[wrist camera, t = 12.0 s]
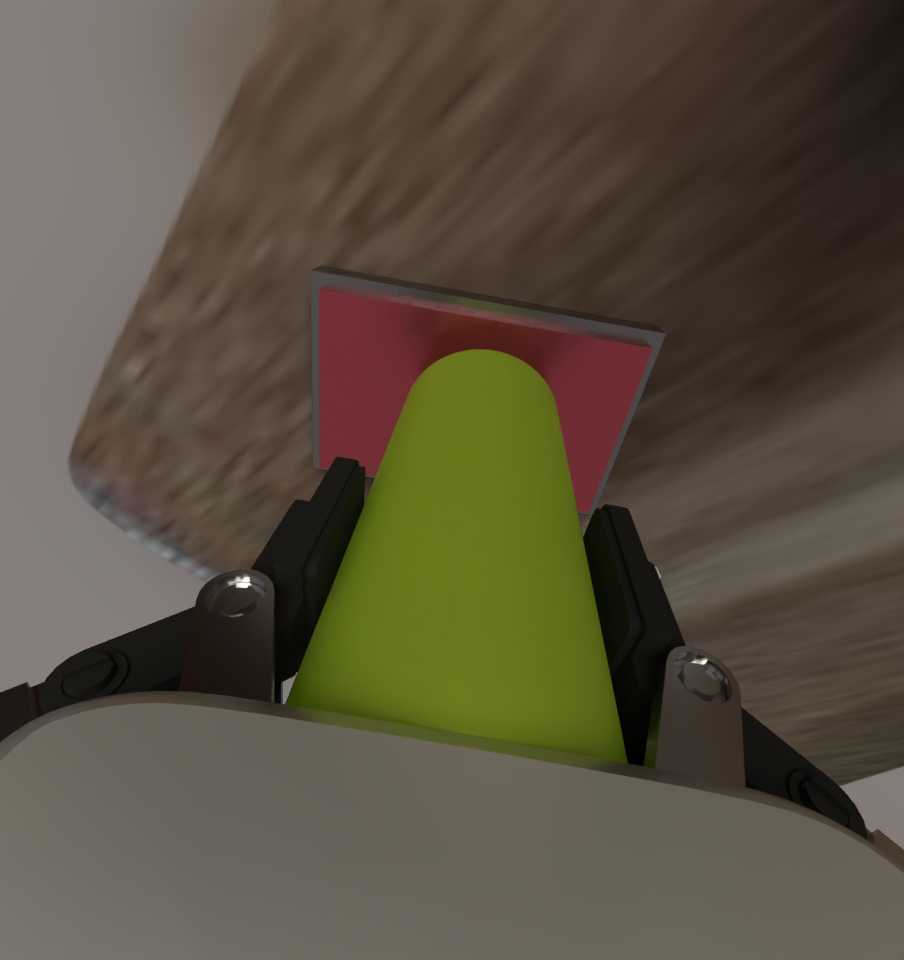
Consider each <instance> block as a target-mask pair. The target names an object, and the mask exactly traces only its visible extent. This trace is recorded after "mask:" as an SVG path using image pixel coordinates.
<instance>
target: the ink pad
mask: <svg viewBox="0 0 904 960" xmlns="http://www.w3.org/2000/svg"><path fill="white" fill-rule="evenodd" d="M311 327H312V412H313V468H318V469H324V470H329V468H330V466H331V464H332V463H333V461H334V459H335V458H336V457H337V456H338V457H344V458H349V459H355V460H358V461H359V466H363V467H365V469H366V473H365V477H371V478H375V477H376V474H377V472H378V469H379V467H380V464H381V462H382V459H383V457H384V454H385V452H386V449H387V447H388V444H389V441H390V439H391V436H392V434H393V431H394V429H395V426H396V424H397V421H398V419H399V416H400V414H401V411H402V409H403V406H404V404H405V401H406V399H407V396H408V394H409V391H410V389H411V387H412V386H413V384H414V383H415V381H416V380H417V378H418V377H419V376H420V375H421V374H422V373H423V372H424V371H425V370H426V369H427V368H428V367H429V366H430V365H432V364H433V363H435V362H436V361H438V360H440V359H442V358H444V357H446V356H448V355H451V354H454V353H457V352H461V351H466V350H476V349H484V350H493V351H499V352H503V353H506V354H509V355H512V356H514V357H516V358H518V359H520V360H522V361H524V362H525V363H527V364H528V365H530V366H531V367H532V368H533V369H534V370H536V371H537V372H538V373H539V374H540V375H541V377H542V378H543V379H544V380H545V382H546V383H547V385H548V386H549V388H550V390H551V392H552V394H553V396H554V399H555V402H556V406H557V411H558V416H559V421H560V426H561V431H562V436H563V441H564V446H565V451H566V456H567V461H568V466H569V471H570V476H571V481H572V486H573V491H574V496H575V501H576V506H577V511H578V513H583V514H588V515H593V513H594V511H595V509H596V507H597V505H598V502H599V500H600V497H601V495H602V492H603V490H604V487H605V485H606V482H607V480H608V477H609V475H610V472H611V470H612V467H613V465H614V462H615V460H616V457H617V455H618V452H619V450H620V447H621V445H622V442H623V440H624V438H625V435H626V433H627V430H628V428H629V425H630V423H631V420H632V418H633V415H634V413H635V410H636V408H637V405H638V403H639V400H640V398H641V395H642V393H643V390H644V388H645V385H646V383H647V380H648V378H649V375H650V373H651V370H652V368H653V365H654V363H655V360H656V358H657V355H658V353H659V351H660V348H661V346H662V343H663V341H664V338H665V336H666V333H665V332H664V331H662V330H661V329H660V328H659V327H658V326H654V325H648V324H643V323H637V322H632V321H626V320H620V319H615V318H609V317H604V316H598V315H593V314H587V313H581V312H576V311H570V310H565V309H559V308H553V307H548V306H542V305H537V304H531V303H525V302H520V301H514V300H509V299H503V298H498V297H492V296H486V295H481V294H475V293H470V292H464V291H458V290H453V289H447V288H442V287H436V286H430V285H425V284H419V283H414V282H408V281H403V280H397V279H391V278H386V277H380V276H375V275H369V274H363V273H358V272H352V271H347V270H341V269H335V268H330V267H324V266H319V267H317V268H315V269H313V270H311Z"/></svg>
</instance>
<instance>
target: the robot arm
mask: <svg viewBox="0 0 904 960" xmlns="http://www.w3.org/2000/svg"><path fill="white" fill-rule="evenodd" d="M365 473H366V469H365V467H363V466H359V461H358V460H355V459H349V458H344V457H338V456H337V457H336V458H335V459H334V461H333V463H332V464H331V466H330V468H329V470H328V471H327V473H326V475H325V476H324V478H323V480H322V481H321V483H320V485H319V487H318V488H317V490H316V492H315V493H314V495H313V497H312V499H311V500H310V502H309V501H304V500H295V501H294V503H293V504H292V505H291V507H290V508H289V510H288V511H287V513H286V515H285V516H284V518H283V519H282V521H281V522H280V524H279V526H278V527H277V529H276V530H275V532H274V533H273V535H272V537H271V538H270V540H269V541H268V543H267V544H266V546H265V548H264V549H263V551H262V552H261V554H260V555H259V557H258V559H257V560H256V562H255V563H254V565H253V566H252V568H251V569H237V570H232V571H227V572H224V573H222V574H220V575H217V576H215V577H214V578H212V579H211V580H210V581H208V582H207V583H206V584H205V585H204V586H203V587H202V588H201V590H200V591H199V594H198V596H197V599H196V604H195V607H192V608H190V609H187V610H185V611H182V612H180V613H177V614H175V615H172V616H169V617H167V618H164V619H162V620H159V621H157V622H154V623H152V624H149V625H147V626H144V627H141V628H139V629H136V630H134V631H131V632H129V633H126V634H124V635H121V636H119V637H116V638H114V639H111V640H108V641H106V642H103V643H101V644H98V645H96V646H93V647H91V648H88V649H85V650H83V651H81V652H79V653H77V654H75V655H73V656H71V657H69V658H68V659H67V660H65V661H64V662H63V663H61V664H60V665H59V666H57V667H56V668H55V669H54V671H53V672H52V673H51V674H50V675H49V676H48V677H47V678H46V680H45V682H43V683H40V684H37V685H35V686H32V687H30V685H29V684H28V682H26V683H23V684H21V685H18V686H16V687H13V688H10V689H8V690H5V691H3V692H0V960H904V850H903V849H902V848H901V847H899V846H898V845H897V844H896V843H894V842H893V841H892V840H891V839H890V838H888V837H887V836H886V835H885V834H883V833H882V832H881V831H879V830H878V829H877V830H875V831H874V832H872V833H871V832H870V831H869V830H868V829H867V828H866V827H865V823H864V820H863V818H862V816H861V814H860V813H859V811H858V809H857V807H856V806H855V804H854V803H853V802H852V801H851V799H850V798H849V797H848V795H847V794H846V793H845V792H844V791H843V790H842V789H841V788H840V787H839V786H838V785H837V784H836V783H835V782H834V781H833V780H831V779H830V778H829V777H828V776H826V775H825V774H824V773H823V772H821V771H820V770H819V769H818V768H816V767H815V766H814V765H813V764H812V763H810V762H809V761H808V760H807V759H805V758H804V757H803V756H802V755H800V754H799V753H798V752H797V751H795V750H794V749H793V748H792V747H790V746H789V745H788V744H787V743H785V742H784V741H783V740H782V739H780V738H779V737H778V736H777V735H775V734H774V733H773V732H772V731H770V730H769V729H768V728H767V727H765V726H764V725H763V724H762V723H760V722H759V721H758V720H757V719H755V718H754V717H753V716H752V715H751V714H749V713H748V712H747V711H746V710H744V709H743V708H742V707H741V694H740V689H739V685H738V683H737V681H736V679H735V678H734V676H733V674H732V673H731V672H730V671H729V670H728V668H727V667H726V666H725V665H724V664H723V663H721V662H720V661H719V660H718V659H717V658H715V657H714V656H712V655H710V654H709V653H707V652H705V651H703V650H700V649H697V648H694V647H687V646H686V645H685V643H684V640H683V638H682V635H681V632H680V630H679V627H678V625H677V622H676V620H675V617H674V614H673V612H672V609H671V607H670V604H669V601H668V599H667V596H666V594H665V591H664V589H663V586H662V583H661V581H660V578H659V576H658V573H657V570H656V568H655V566H654V565H653V564H652V563H651V562H648V560H647V557H646V554H645V552H644V549H643V546H642V544H641V541H640V538H639V536H638V533H637V530H636V528H635V525H634V522H633V520H632V517H631V514H630V512H629V510H628V509H627V508H624V507H619V506H613V505H608V504H606V505H604V506H603V507H602V509H599V508H597V509H595V511H594V513H593V515H592V518H591V520H590V522H589V525H588V527H587V530H586V532H585V534H584V537H583V541H584V546H585V551H586V556H587V561H588V566H589V571H590V576H591V581H592V586H593V591H594V596H595V601H596V606H597V611H598V616H599V621H600V626H601V631H602V636H603V641H604V646H605V651H606V656H607V661H608V666H609V671H610V676H611V681H612V686H613V691H614V696H615V701H616V706H617V711H618V716H619V721H620V726H621V731H622V736H623V741H624V746H625V751H626V756H627V761H628V763H622V762H617V761H611V760H605V759H600V758H594V757H589V756H583V755H577V754H572V753H566V752H561V751H555V750H549V749H544V748H538V747H532V746H527V745H521V744H515V743H509V742H504V741H498V740H492V739H486V738H481V737H475V736H469V735H463V734H458V733H452V732H446V731H440V730H434V729H429V728H423V727H417V726H411V725H405V724H399V723H393V722H387V721H382V720H376V719H370V718H364V717H358V716H352V715H346V714H340V713H334V712H328V711H322V710H316V709H310V708H304V707H298V706H292V705H285V704H283V681H285V680H287V679H289V678H291V677H293V676H295V674H296V672H298V671H299V668H300V665H301V663H302V660H303V658H304V655H305V653H306V650H307V648H308V645H309V643H310V640H311V638H312V635H313V633H314V630H315V628H316V625H317V623H318V620H319V618H320V615H321V613H322V610H323V608H324V605H325V603H326V600H327V598H328V595H329V593H330V590H331V587H332V585H333V582H334V580H335V577H336V575H337V572H338V570H339V567H340V565H341V562H342V560H343V557H344V555H345V552H346V550H347V547H348V545H349V542H350V540H351V537H352V535H353V532H354V530H355V527H356V525H357V522H358V520H359V517H360V514H361V512H362V509H363V507H364V491H365Z"/></svg>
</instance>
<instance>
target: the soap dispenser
mask: <svg viewBox="0 0 904 960" xmlns="http://www.w3.org/2000/svg"><path fill="white" fill-rule="evenodd" d="M285 705H292V706H298V707H304V708H310V709H316V710H322V711H328V712H334V713H340V714H346V715H352V716H358V717H364V718H370V719H376V720H382V721H387V722H393V723H399V724H405V725H411V726H417V727H423V728H429V729H434V730H440V731H446V732H452V733H458V734H463V735H469V736H475V737H481V738H486V739H492V740H498V741H504V742H509V743H515V744H521V745H527V746H532V747H538V748H544V749H549V750H555V751H561V752H566V753H572V754H577V755H583V756H589V757H594V758H600V759H605V760H611V761H617V762H622V763H628V761H627V756H626V751H625V746H624V741H623V736H622V731H621V726H620V721H619V716H618V711H617V706H616V701H615V696H614V691H613V686H612V681H611V676H610V671H609V666H608V661H607V656H606V651H605V646H604V641H603V636H602V631H601V626H600V621H599V616H598V611H597V606H596V601H595V596H594V591H593V586H592V581H591V576H590V571H589V566H588V561H587V556H586V551H585V546H584V541H583V536H582V531H581V526H580V521H579V516H578V511H577V506H576V501H575V496H574V491H573V486H572V481H571V476H570V471H569V466H568V461H567V456H566V451H565V446H564V441H563V436H562V431H561V426H560V421H559V416H558V411H557V406H556V402H555V399H554V396H553V394H552V392H551V390H550V388H549V386H548V385H547V383H546V382H545V380H544V379H543V378H542V377H541V375H540V374H539V373H538V372H537V371H536V370H534V369H533V368H532V367H531V366H530V365H528V364H527V363H525V362H524V361H522V360H520V359H518V358H516V357H514V356H512V355H509V354H506V353H503V352H499V351H493V350H484V349H476V350H466V351H461V352H457V353H454V354H451V355H448V356H446V357H444V358H442V359H440V360H438V361H436V362H435V363H433V364H432V365H430V366H429V367H428V368H427V369H426V370H425V371H424V372H423V373H422V374H421V375H420V376H419V377H418V378H417V380H416V381H415V383H414V384H413V386H412V387H411V389H410V391H409V394H408V396H407V399H406V401H405V404H404V406H403V409H402V411H401V414H400V416H399V419H398V421H397V424H396V426H395V429H394V431H393V434H392V436H391V439H390V441H389V444H388V447H387V449H386V452H385V454H384V457H383V459H382V462H381V464H380V467H379V469H378V472H377V474H376V477H375V479H374V482H373V484H372V487H371V489H370V492H369V494H368V497H367V499H366V502H365V504H364V507H363V509H362V512H361V514H360V517H359V520H358V522H357V525H356V527H355V530H354V532H353V535H352V537H351V540H350V542H349V545H348V547H347V550H346V552H345V555H344V557H343V560H342V562H341V565H340V567H339V570H338V572H337V575H336V577H335V580H334V582H333V585H332V587H331V590H330V593H329V595H328V598H327V600H326V603H325V605H324V608H323V610H322V613H321V615H320V618H319V620H318V623H317V625H316V628H315V630H314V633H313V635H312V638H311V640H310V643H309V645H308V648H307V650H306V653H305V655H304V658H303V660H302V663H301V665H300V668H299V671H298V673H297V676H296V678H295V681H294V683H293V686H292V688H291V691H290V693H289V696H288V699H287V701H286V703H285Z"/></svg>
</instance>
